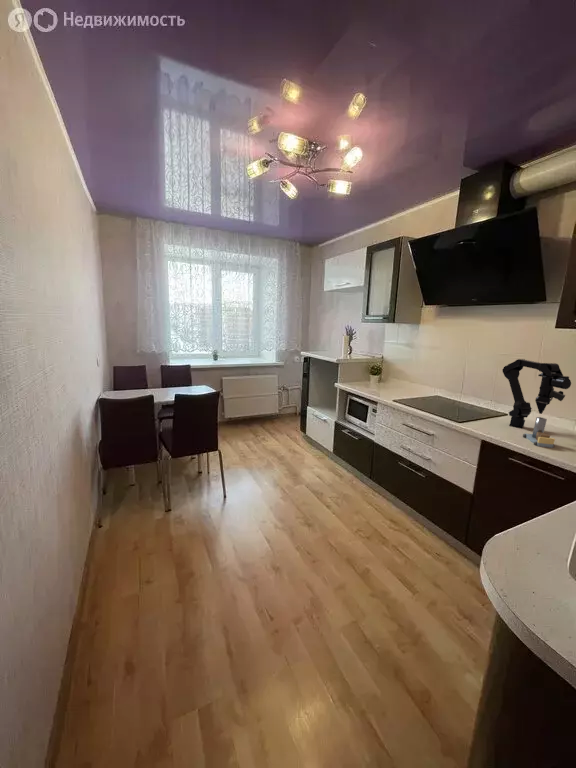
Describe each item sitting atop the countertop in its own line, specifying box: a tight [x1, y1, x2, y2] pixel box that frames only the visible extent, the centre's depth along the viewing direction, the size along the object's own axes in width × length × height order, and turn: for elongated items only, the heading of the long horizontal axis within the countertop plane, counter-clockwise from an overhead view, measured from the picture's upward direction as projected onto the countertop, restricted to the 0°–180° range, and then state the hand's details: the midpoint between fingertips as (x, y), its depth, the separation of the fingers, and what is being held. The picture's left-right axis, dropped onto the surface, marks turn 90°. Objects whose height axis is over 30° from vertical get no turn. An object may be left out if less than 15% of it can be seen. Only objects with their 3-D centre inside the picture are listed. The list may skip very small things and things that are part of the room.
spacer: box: [531, 416, 547, 438], centre depth 170 cm, size 4×4×11 cm
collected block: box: [536, 432, 551, 441], centre depth 166 cm, size 4×4×4 cm
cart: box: [522, 432, 556, 449], centre depth 170 cm, size 14×9×5 cm, turn 169°
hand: (541, 412), depth 180 cm, fingers open, 9 cm apart
